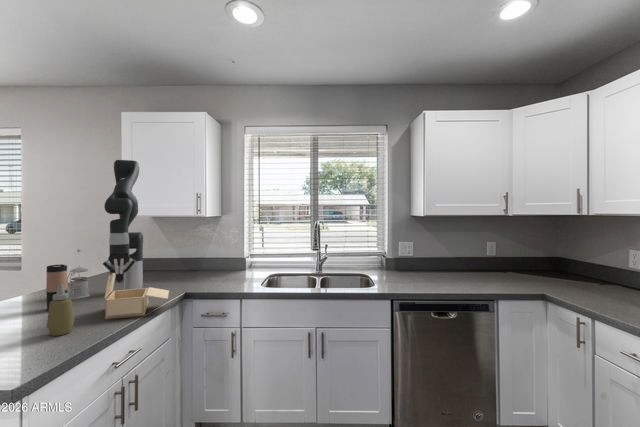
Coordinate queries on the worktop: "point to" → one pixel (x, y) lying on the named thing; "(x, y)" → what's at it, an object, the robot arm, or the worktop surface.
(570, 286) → the worktop surface
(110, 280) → the flap
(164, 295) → the flap
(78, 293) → the french press
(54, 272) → the travel mug
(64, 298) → the squeeze bottle
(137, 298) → the carton
